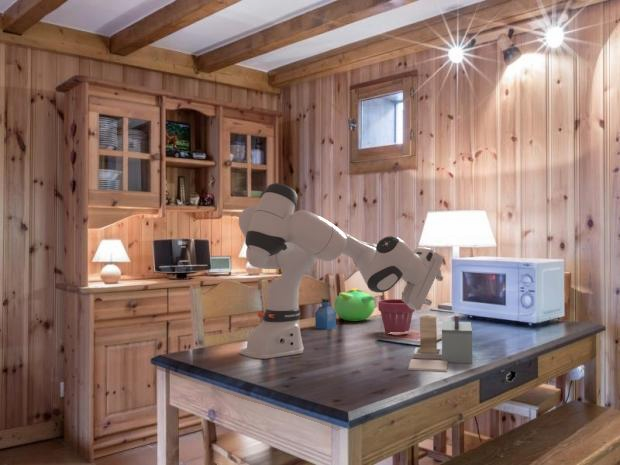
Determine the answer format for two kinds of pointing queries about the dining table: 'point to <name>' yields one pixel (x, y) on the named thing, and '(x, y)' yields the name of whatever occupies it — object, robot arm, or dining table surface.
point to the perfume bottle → (325, 316)
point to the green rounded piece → (354, 305)
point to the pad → (428, 365)
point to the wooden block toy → (452, 343)
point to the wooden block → (428, 334)
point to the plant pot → (395, 315)
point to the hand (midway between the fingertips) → (435, 291)
